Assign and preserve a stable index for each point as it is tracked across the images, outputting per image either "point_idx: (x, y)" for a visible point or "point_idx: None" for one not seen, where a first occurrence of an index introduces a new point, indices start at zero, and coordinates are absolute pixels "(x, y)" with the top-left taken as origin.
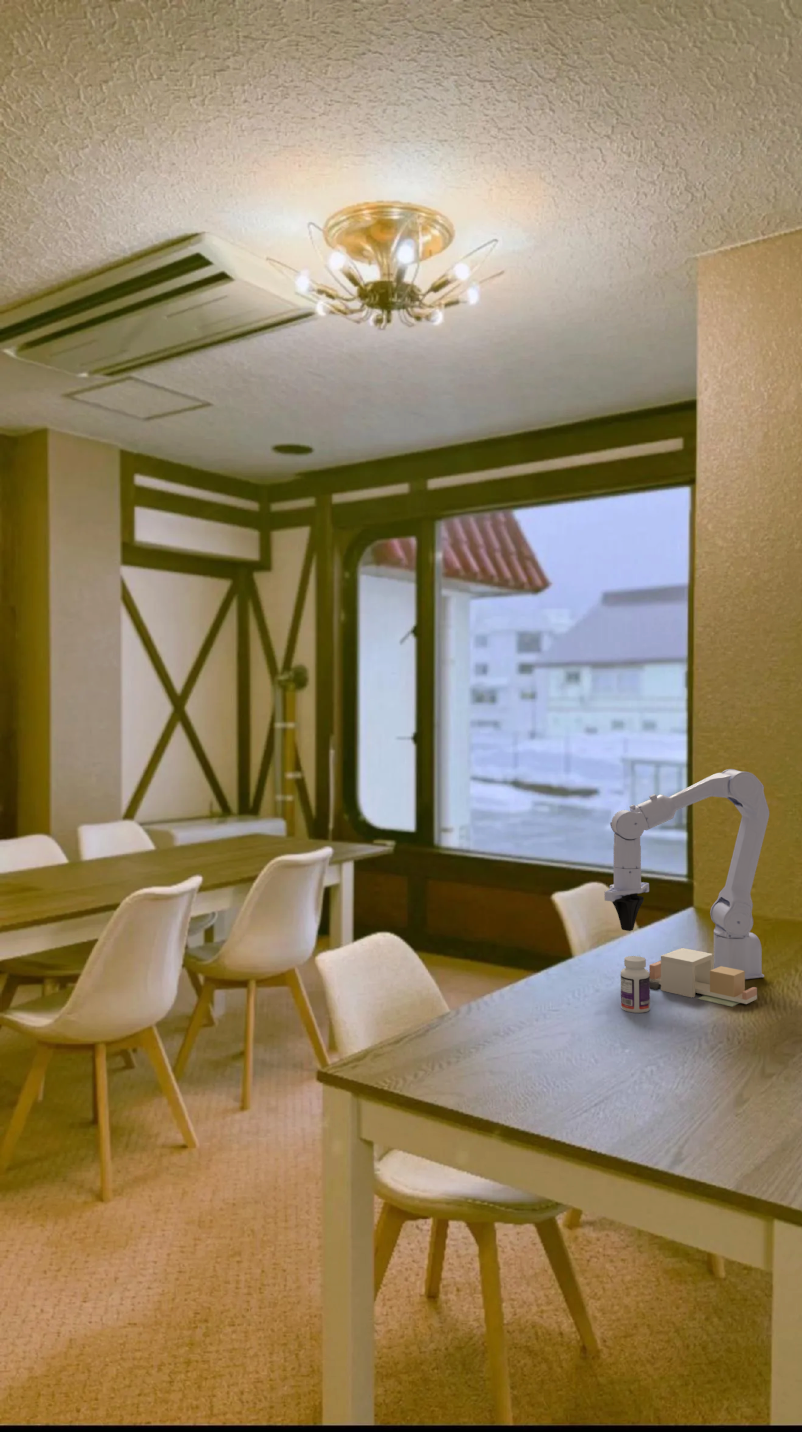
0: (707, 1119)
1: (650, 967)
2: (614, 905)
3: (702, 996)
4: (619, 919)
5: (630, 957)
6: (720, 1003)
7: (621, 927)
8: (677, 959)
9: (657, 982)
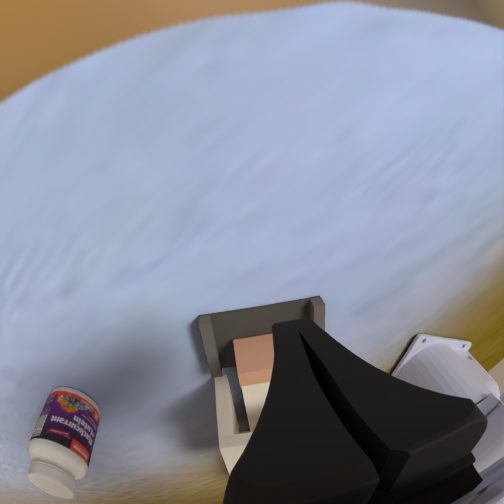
0: (16, 497)
1: (238, 370)
2: (248, 446)
3: (245, 432)
4: (275, 358)
5: (43, 481)
6: None
7: (274, 330)
8: (228, 471)
9: (221, 374)
